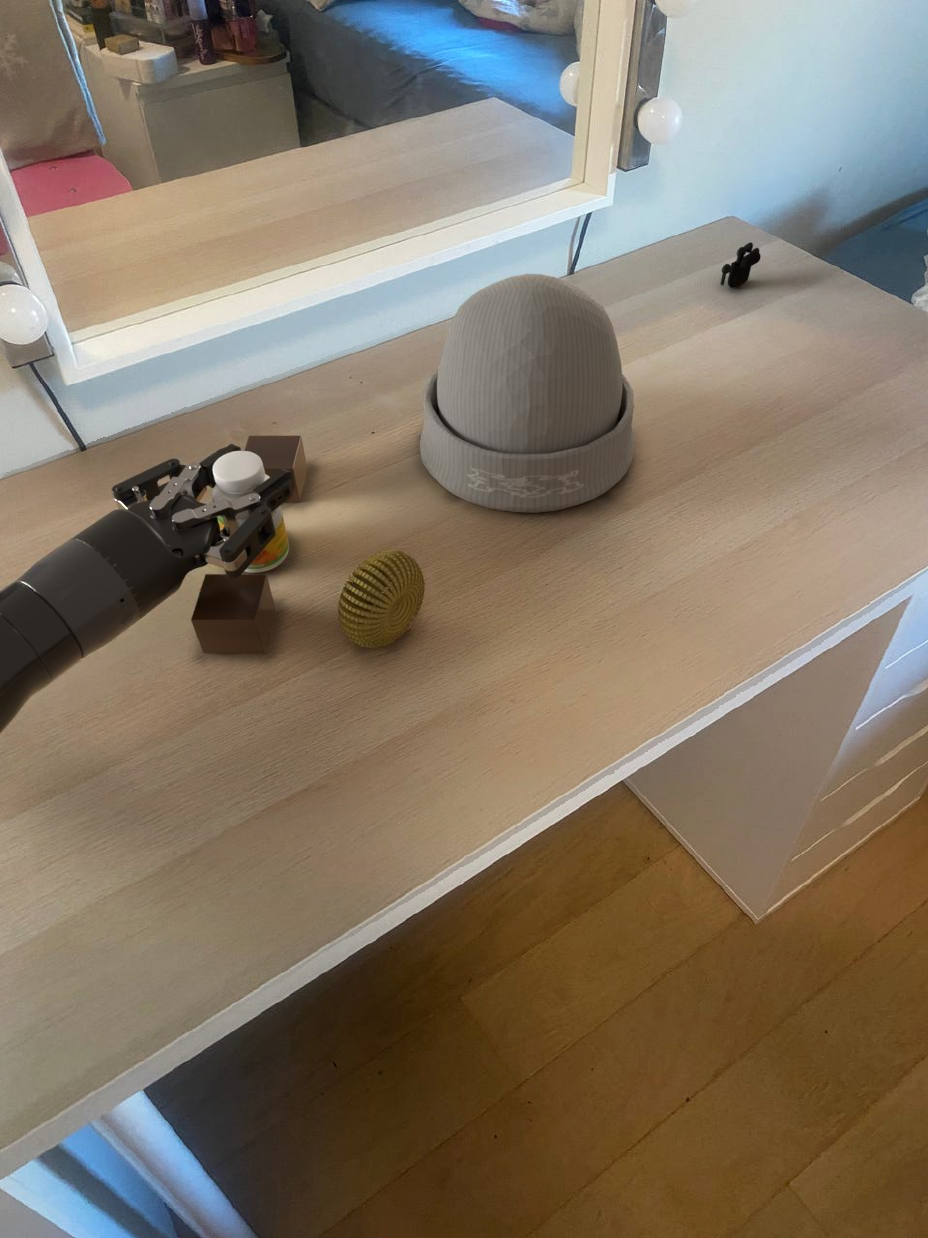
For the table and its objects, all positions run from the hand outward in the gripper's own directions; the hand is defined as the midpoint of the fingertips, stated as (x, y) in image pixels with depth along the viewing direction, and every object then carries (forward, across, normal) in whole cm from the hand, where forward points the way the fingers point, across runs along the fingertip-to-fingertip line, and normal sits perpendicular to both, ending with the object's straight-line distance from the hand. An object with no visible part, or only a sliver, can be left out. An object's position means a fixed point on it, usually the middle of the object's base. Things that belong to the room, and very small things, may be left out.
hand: (263, 466), depth 74 cm
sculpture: (-3, -15, +8) cm, 18 cm away
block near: (-10, -5, +8) cm, 14 cm away
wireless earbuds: (+65, -15, +8) cm, 67 cm away
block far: (+5, +5, +8) cm, 11 cm away
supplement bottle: (-3, 0, +8) cm, 9 cm away
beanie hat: (+24, -11, +8) cm, 27 cm away
